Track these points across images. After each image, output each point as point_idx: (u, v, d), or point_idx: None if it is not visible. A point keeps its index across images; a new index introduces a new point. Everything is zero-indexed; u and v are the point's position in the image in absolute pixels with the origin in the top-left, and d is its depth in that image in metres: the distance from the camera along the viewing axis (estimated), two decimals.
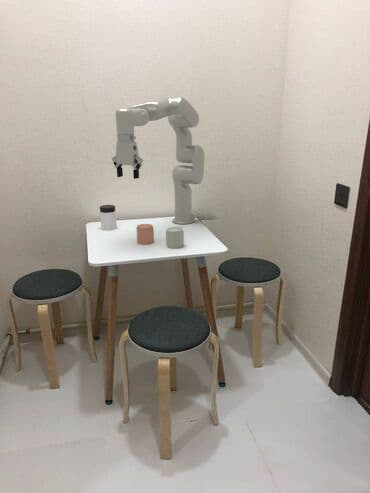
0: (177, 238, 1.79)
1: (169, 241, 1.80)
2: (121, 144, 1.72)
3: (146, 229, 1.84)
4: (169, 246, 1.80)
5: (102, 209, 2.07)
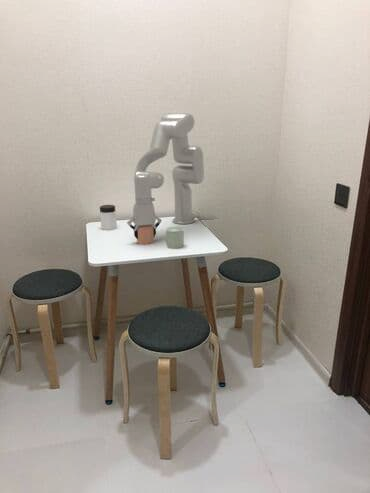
0: (177, 238, 1.79)
1: (169, 241, 1.80)
2: (143, 207, 1.81)
3: (146, 229, 1.84)
4: (169, 246, 1.80)
5: (102, 209, 2.07)
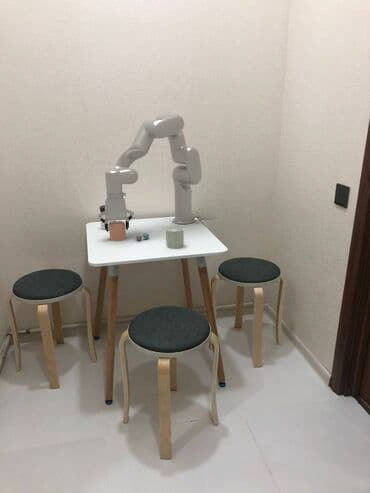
0: (177, 238, 1.79)
1: (169, 241, 1.80)
2: (114, 202, 1.87)
3: (118, 226, 1.89)
4: (169, 246, 1.80)
5: (102, 209, 2.07)
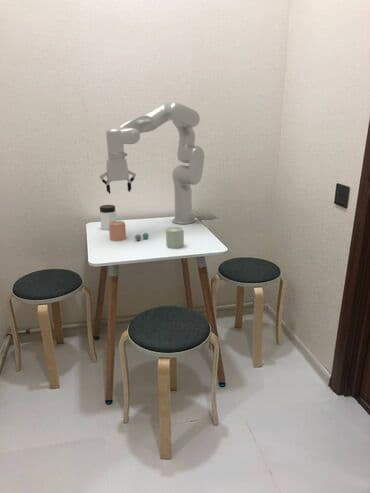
0: (177, 238, 1.79)
1: (169, 241, 1.80)
2: (115, 162, 1.83)
3: (118, 226, 1.89)
4: (169, 246, 1.80)
5: (102, 209, 2.07)
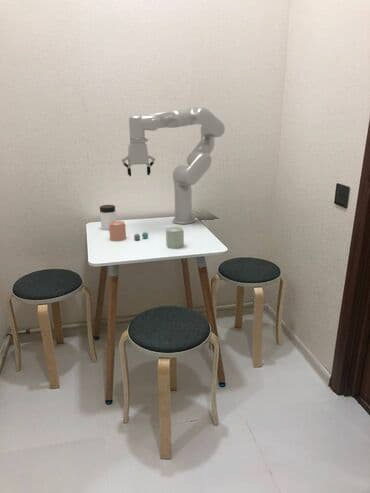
0: (177, 238, 1.79)
1: (169, 241, 1.80)
2: (137, 147, 1.97)
3: (118, 226, 1.89)
4: (169, 246, 1.80)
5: (102, 209, 2.07)
